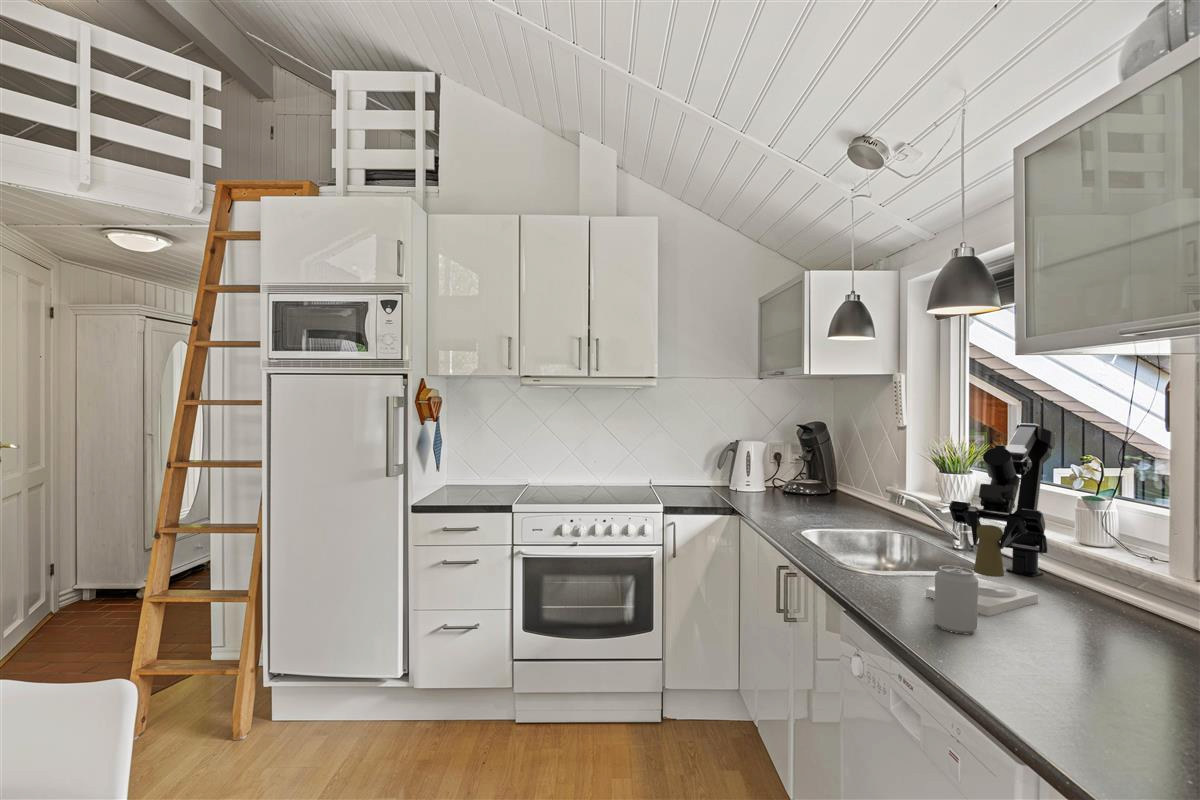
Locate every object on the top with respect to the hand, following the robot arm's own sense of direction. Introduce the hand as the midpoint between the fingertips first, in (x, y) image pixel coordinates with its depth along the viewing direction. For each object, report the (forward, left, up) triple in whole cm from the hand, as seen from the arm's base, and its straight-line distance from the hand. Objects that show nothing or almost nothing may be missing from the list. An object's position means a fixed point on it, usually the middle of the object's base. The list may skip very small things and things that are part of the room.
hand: (987, 545), depth 143 cm
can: (+25, +8, -13) cm, 29 cm away
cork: (-1, 0, -7) cm, 7 cm away
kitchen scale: (+1, 0, -12) cm, 12 cm away
